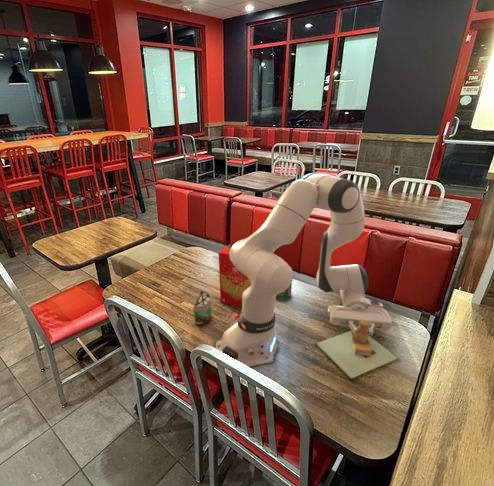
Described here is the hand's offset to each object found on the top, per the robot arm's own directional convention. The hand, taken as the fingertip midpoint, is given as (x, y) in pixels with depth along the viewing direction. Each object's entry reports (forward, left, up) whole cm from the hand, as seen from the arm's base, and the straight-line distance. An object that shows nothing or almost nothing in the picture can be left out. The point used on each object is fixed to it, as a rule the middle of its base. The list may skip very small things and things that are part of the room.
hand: (363, 332), depth 105 cm
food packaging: (-26, +44, -8) cm, 52 cm away
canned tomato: (-6, +40, -8) cm, 41 cm away
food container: (-43, +40, -8) cm, 59 cm away
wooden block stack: (+1, +1, -6) cm, 7 cm away
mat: (-2, 0, -8) cm, 8 cm away
